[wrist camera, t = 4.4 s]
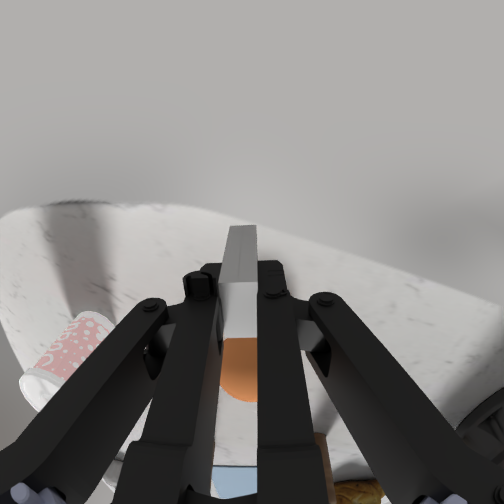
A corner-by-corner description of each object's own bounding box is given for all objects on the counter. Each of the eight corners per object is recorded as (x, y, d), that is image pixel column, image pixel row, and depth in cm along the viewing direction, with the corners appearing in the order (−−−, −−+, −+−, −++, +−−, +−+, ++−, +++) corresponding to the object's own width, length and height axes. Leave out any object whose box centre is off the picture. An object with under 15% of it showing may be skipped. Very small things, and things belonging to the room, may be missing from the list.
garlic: (147, 472, 36) (141, 499, 31) (123, 472, 37) (116, 497, 32) (122, 454, 34) (114, 483, 29) (98, 454, 35) (89, 480, 30)
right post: (327, 431, 30) (338, 499, 21) (324, 443, 31) (334, 506, 22) (302, 434, 30) (310, 502, 21) (300, 445, 31) (307, 510, 22)
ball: (287, 312, 23) (295, 363, 18) (286, 364, 25) (291, 414, 20) (214, 314, 23) (205, 365, 18) (221, 366, 25) (215, 416, 20)
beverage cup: (115, 303, 23) (32, 444, 10) (136, 359, 25) (85, 493, 12) (59, 303, 23) (-28, 417, 10) (82, 355, 25) (22, 469, 13)
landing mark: (312, 463, 33) (312, 464, 33) (303, 495, 39) (303, 496, 38) (207, 465, 33) (207, 466, 33) (220, 497, 39) (219, 498, 39)
